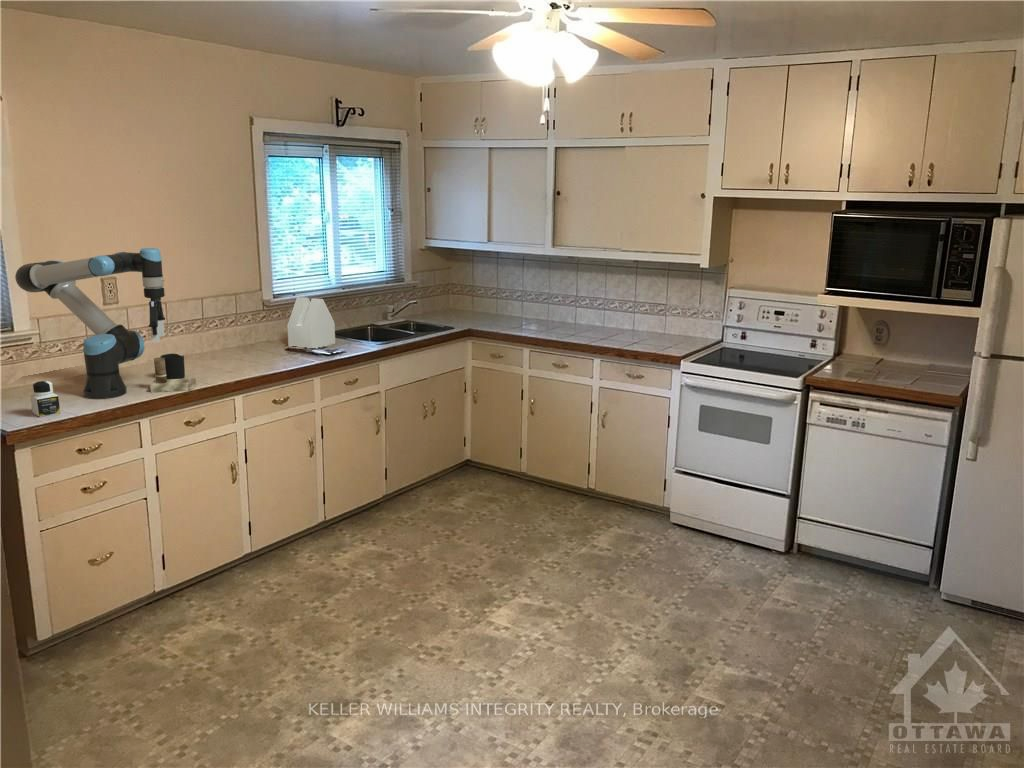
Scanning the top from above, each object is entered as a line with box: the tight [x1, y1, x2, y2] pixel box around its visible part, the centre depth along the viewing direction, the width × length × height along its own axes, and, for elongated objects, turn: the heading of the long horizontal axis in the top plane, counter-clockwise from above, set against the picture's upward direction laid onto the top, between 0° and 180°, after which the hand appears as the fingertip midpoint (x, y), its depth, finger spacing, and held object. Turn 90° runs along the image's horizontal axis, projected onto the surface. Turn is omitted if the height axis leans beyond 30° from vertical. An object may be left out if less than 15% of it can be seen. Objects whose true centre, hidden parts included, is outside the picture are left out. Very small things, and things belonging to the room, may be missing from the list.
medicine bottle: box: [29, 380, 61, 418], centre depth 285 cm, size 7×7×12 cm
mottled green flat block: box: [149, 377, 197, 393], centre depth 322 cm, size 16×9×3 cm, turn 104°
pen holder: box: [159, 353, 186, 379], centre depth 339 cm, size 9×9×10 cm
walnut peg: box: [153, 357, 167, 383], centre depth 320 cm, size 4×4×10 cm
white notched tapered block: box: [286, 296, 336, 349], centre depth 409 cm, size 19×15×25 cm
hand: (158, 339), depth 317 cm, fingers open, 13 cm apart
